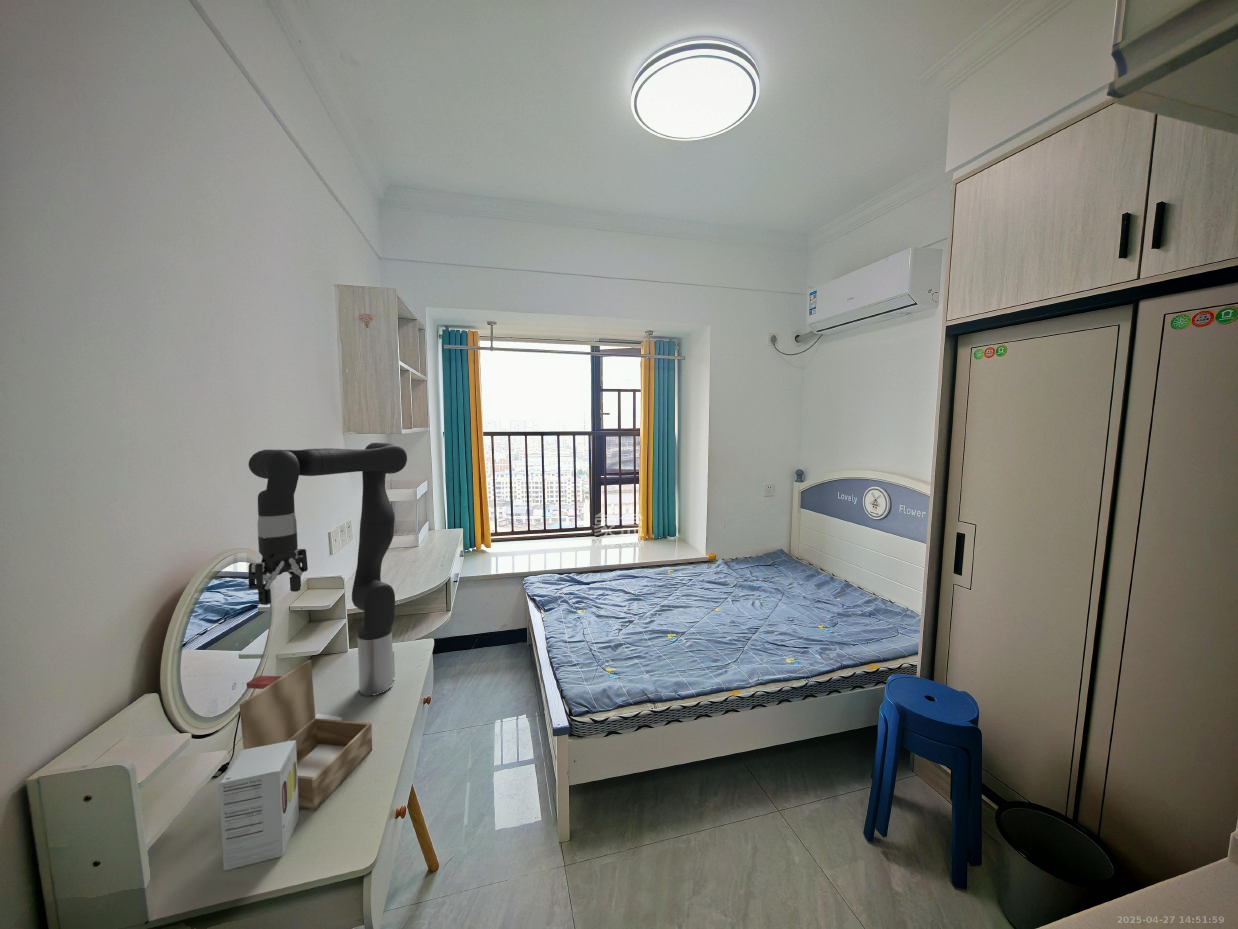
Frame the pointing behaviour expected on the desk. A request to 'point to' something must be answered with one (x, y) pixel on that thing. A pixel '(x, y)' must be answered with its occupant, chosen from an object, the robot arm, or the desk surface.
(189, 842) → the desk surface
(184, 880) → the desk surface
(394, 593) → the robot arm
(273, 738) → the lid
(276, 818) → the supplement box
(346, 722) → the mailer base
